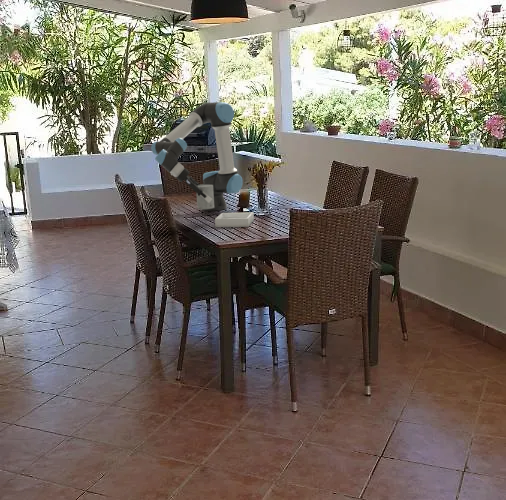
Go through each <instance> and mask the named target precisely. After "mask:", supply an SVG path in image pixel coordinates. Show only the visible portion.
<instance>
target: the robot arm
mask: <svg viewBox="0 0 506 500" xmlns="http://www.w3.org/2000/svg"><path fill="white" fill-rule="evenodd" d="M234 117H235V112H234V108H233V107H232V105H230V103H228V102H226V101H225V102H223V101H217V102H216V101H215V102H204V103H202V104H201V105H199V106H198V107H196V108H195V109H193V110H192V111H191V112H190V113H189V114H188V117H187V118H186V119H184V120H183V121H182V122H181V123H180V124H179V125H177V126H176V127H175V128H174V129H172V130H171V131H170V132H169V133H168V134H166V136H164V137H163V138H162V139H161V140H160V141H154V142H153V143H152V144H151V147H150V149H151V150H150V151H151V152H152V154H153V155H156V156H155V161H156V162H157V163H158V164H159V165H160V166H161V167H163V169H165V170H166V171H167V172H168V173H170V176H173V177H174V178H176V180H178V182H180V183H183V181H185V184H186V185H187V186H189V188H191V189H192V191H194V192H195V193H197V194H198V196H201V197H203V198H204V199H205V200H206V201H207V202H208V203H209V202H210V201H211V200H212V198H210V197H209V196H208V195H207V194H206V193H205V192H204V191H202V190H201V189H200V188H199V187H198V185H201V184H200V183H199V182H197V181H196V180H195V179H194V178H193V177H192V176H189V174H190V171H189V170H188V169H187V168H186V167H185V166H184V165H182V164H181V162H179V161H178V159H179V158H180V157H181V156H182V154H183V153H185V151H186V150H187V148H188V143H187V142H186V141H185V140H184V139H185V138H186V137H187V136H188V135H189V134H191V133H192V132H193V131H194V130H195V129H197V128H199V127H202V126H203V125H204V124H207V123H208V124H209V123H210V124H211V125H210V126H211V128H212V129H213V130H214V135H215V142H216V149H217V157H218V163H219V169H218V170H215V171H209V172H204V173H203V175H202V185H206V184H209V185H213V194H214V208H212V209H201V211H208V212H209V211H210V212H211V211H212V212H214V211H222V210H226V209H228V208H227V207H228V206H227V202H226V199H225V197H224V194H230V195H231V194H232V195H233V194H237V193H238V192H240V191H241V189H242V188H243V185H244V184H243V181H244V180H243V177H242V176H241V174H239V173H238V169H237V168H236V167H235V163H234V161H235V160H234V157H233V147H232V139H231V132H230V127H231V125H232V121H233V120H234Z"/></svg>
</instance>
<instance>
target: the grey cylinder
mask: <svg viewBox="0 0 506 500" xmlns="http://www.w3.org/2000/svg"><path fill="white" fill-rule="evenodd" d="M198 187H199V188H200V189H201V190H202V191H204V192H205V193H206V194H207V195H208V196H209V197H210V198H212V200H211V201H210V202H209V203H208V202H207V201H206V200H205V199H204V198H203V197H201V196H198V194H197V193H196V192H195V193H196V206H197V207H196V208H197V210H202V209H212V208H214V194H213V185H209V184H206V185H203V184H200V185H198Z"/></svg>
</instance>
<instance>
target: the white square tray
mask: <svg viewBox="0 0 506 500" xmlns="http://www.w3.org/2000/svg"><path fill="white" fill-rule="evenodd" d="M254 215H255V214H254V212H252V211H251V212H248V211H247V212H221V213H220V214H219V215H218V216H217V217H216V218H215V219H214V222H215V223H214V225H215V228H241V227H242V228H243V227H245V228H248V227H250V225H251V224H252V223H253V222H254V221H255V220H254V219H255V216H254Z"/></svg>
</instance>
